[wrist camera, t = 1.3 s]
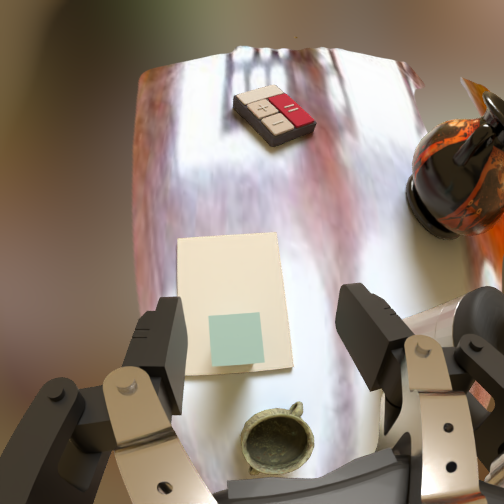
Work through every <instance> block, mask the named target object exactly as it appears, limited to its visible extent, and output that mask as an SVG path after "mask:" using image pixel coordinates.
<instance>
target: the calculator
mask: <svg viewBox="0 0 504 504" xmlns="http://www.w3.org/2000/svg"><path fill="white" fill-rule="evenodd" d="M233 108H234V109H235V110H236V111H237V112H238V113H239V114H240V115H241V116H242V117H244V118H245V119H246V120H247V121H248V123H249V124H250V125H251V126H252V127H253V128H254V129H255V130H256V131H257V132H258V133H259V134H260V135H261V136H262V137H263V139H264V140H265V141H266V142H267V143H268V144H269V145H270V146H271V147H275V146H278V145H280V144H283V143H285V142H288V141H290V140H293V139H295V138H298V137H301V136H303V135H306V134H309V133H311V132H313V131H314V128H315V126H316V122H315V121H314V119H313V118H312V117H311V116H310V115H309V114H308V113H307V112H305V111H304V110H303V109H302V108H301V107H300V106H299V105H298V104H297V103H296V102H295V101H294V100H292V99H291V98H290V97H289V96H288V95H287V94H285V93H284V92H283V91H282V90H281V89H280V88H278V87H277V86H276V85H270V86H266V87H262V88H259V89H255V90H251V91H248V92H245V93H241V94H238V95H235V96H234V98H233Z"/></svg>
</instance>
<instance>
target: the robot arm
mask: <svg viewBox="0 0 504 504" xmlns="http://www.w3.org/2000/svg"><path fill="white" fill-rule="evenodd" d="M335 324H336V329H337V332H338V334H339V336H340V338H341V340H342V341H343V343H344V345H345V347H346V349H347V350H348V352H349V354H350V356H351V357H352V359H353V361H354V363H355V365H356V367H357V368H358V370H359V372H360V374H361V376H362V377H363V379H364V381H365V383H366V385H367V387H368V389H369V390H370V392H371V391H374V390H378V389H381V388H382V390H383V392H384V393H383V395H382V398H381V409H380V428H379V441H378V445H377V448H376V451H375V453H372V454H369V455H366V456H363V457H360V458H357V459H354V460H353V461H351V462H349V463H347V464H345V465H344V466H342V467H340V468H338V469H336V470H334V471H332V472H330V473H328V474H326V475H324V476H322V477H319V478H314V479H303V478H279V477H267V478H258V479H247V480H231V481H227V486H228V489H226V490H222V491H219V492H216V493H213V494H211V493H210V491H209V490H208V488H207V486H206V485H205V483H204V482H203V480H202V479H201V477H200V475H199V474H198V472H197V470H196V469H195V467H194V465H193V464H192V462H191V460H190V458H189V457H188V455H187V453H186V451H185V450H184V448H183V446H182V444H181V442H180V440H179V438H178V437H177V435H176V433H175V431H174V430H173V428H172V426H171V419H172V415H181V414H182V401H183V390H184V379H185V368H186V359H187V349H188V335H187V328H186V323H185V317H184V311H183V306H182V300H181V297H160V299H159V301H158V304H157V307H156V311H147V312H146V313H145V314H144V315H143V316H142V317H141V318H140V319H139V320H138V323H137V325H136V328H135V331H134V333H133V336H132V339H131V342H130V344H129V347H128V350H127V353H126V356H125V359H124V362H123V365H122V367H121V368H119V369H116V370H114V371H113V372H111V373H110V374H109V375H108V376H107V377H106V379H105V381H104V383H103V385H101V386H96V387H90V388H84V389H78V388H77V386H76V384H75V383H74V382H73V381H72V380H70V379H68V378H63V377H61V378H55V379H52V380H50V381H48V382H47V383H46V384H44V386H43V387H42V388H41V389H40V391H39V392H38V394H37V396H36V397H35V399H34V400H33V402H32V403H31V405H30V406H29V408H28V410H27V411H26V413H25V415H24V416H23V418H22V419H21V421H20V423H19V424H18V426H17V428H16V429H15V431H14V433H13V435H12V436H11V438H10V440H9V442H8V444H7V445H6V447H5V449H4V451H3V453H2V455H1V457H0V504H93V502H94V499H95V496H96V493H97V490H98V487H99V485H100V482H101V479H102V476H103V473H104V470H105V468H106V465H107V462H108V459H109V456H110V454H111V451H112V450H114V453H115V458H116V461H117V464H118V467H119V470H120V472H121V475H122V478H123V481H124V483H125V486H126V488H127V490H128V493H129V495H130V498H131V500H132V503H133V504H504V294H503V293H502V292H501V291H499V290H498V289H496V288H494V287H491V286H485V287H481V288H478V289H476V290H474V291H471V292H469V293H467V294H465V295H462V296H460V297H458V298H456V299H453V300H451V301H449V302H446V303H444V304H441V305H439V306H437V307H434V308H431V309H429V310H426V311H424V312H421V313H418V314H416V315H413V316H410V317H407V318H405V319H401V318H400V317H399V316H398V315H396V312H395V311H394V310H393V309H391V307H390V306H389V305H388V304H387V302H386V301H385V300H384V299H382V298H380V297H379V296H377V295H375V294H371V293H370V292H369V291H368V290H367V288H366V287H365V286H364V285H363V284H362V283H353V284H344V285H342V286H341V288H340V293H339V300H338V306H337V312H336V318H335ZM475 380H476V381H477V382H478V383H479V384H480V385H481V386H482V387H483V388H484V389H485V390H486V391H487V392H488V393H489V394H490V395H491V396H492V397H493V398H494V400H495V408H494V410H493V411H492V412H488V411H487V410H486V409H485V408H484V407H483V406H482V405H481V404H480V403H479V402H478V401H477V399H476V398H475V397H474V396H473V395H472V394H471V393H470V392H469V390H470V388H471V387H472V385H473V383H474V382H475ZM477 457H478V458H479V460H480V461H481V462H482V463H483V464H484V466H485V467H486V468H487V470H488V471H489V472H490V474H488V475H487V476H486V478H485V482H484V481H481V480H479V479H478V465H477Z"/></svg>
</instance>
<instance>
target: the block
mask: <svg viewBox="0 0 504 504" xmlns="http://www.w3.org/2000/svg"><path fill="white" fill-rule="evenodd" d="M208 319H209V334H210V347H211V360H212V367H213V366H230V365H243V364H254V363H264V362H265V360H264V350H263V341H262V331H261V322H260V312H255V313H242V314H229V315H213V316H208Z"/></svg>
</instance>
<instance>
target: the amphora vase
mask: <svg viewBox="0 0 504 504" xmlns="http://www.w3.org/2000/svg"><path fill="white" fill-rule="evenodd" d="M483 100H484V102H485V104H486V106H487V110H486V112H485V114H484V116H482V117H481V118H478V119H454V120H449V121H446V122H443V123H441V124H439V125H438V126H436V127H434V128H433V129H432V130H431V131H430V132H429V133H428V134H427V135H426V136H425V137H423V138H422V139H421V141H420V142H419V144H418V146H417V147H416V149H415V153H414V156H413V161H412V172H413V174H412V175H411V176H410V177H409V179H408V182H407V185H406V191H407V197H408V201H409V204H410V207H411V209H412V211H413V213H414V214H415V216H416V217H417V219H418V220H419V222H420V223H421V224H422V225H423V226H424V227H425V228H426V229H427V230H428V231H429V232H431V233H432V234H433V235H435V236H438V237H440V238H442V239H447V240H451V239H456V238H457V237H459V236H460V235H467V236H474V235H479V234H483V233H485V232H487V231H488V230H490V229H491V228H493V226H494V225H495V224H496V223H497V222H498V221H499V220H500V218H501V217H502V216H503V215H504V101H503V100H502V99H501V98H499V97H498V96H497V95H495V94H494V93H492V92H488V91H485V92H484V93H483Z"/></svg>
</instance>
